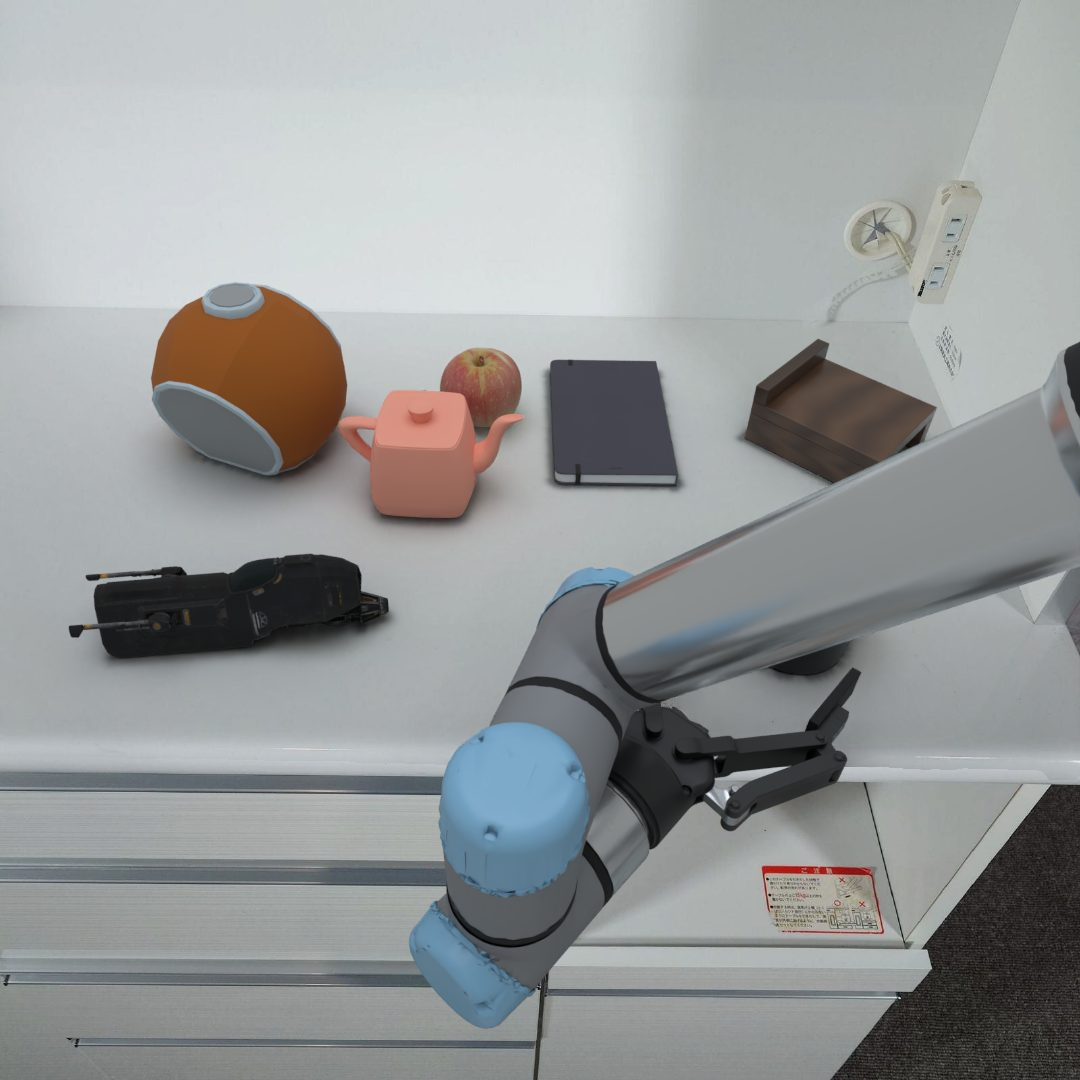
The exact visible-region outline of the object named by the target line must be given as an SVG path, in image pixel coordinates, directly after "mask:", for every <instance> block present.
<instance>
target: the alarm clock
mask: <svg viewBox="0 0 1080 1080" xmlns="http://www.w3.org/2000/svg"><path fill="white" fill-rule="evenodd" d="M150 381H151V389H152V396H151V402H152V405H153V406H154V408H155V411H156V412H157V414H158V416H159V417H160V419H162V421H163V422H164V423H165V424H166V425H167V426H168V427H169V428H170V430H171V431H173V433H174V434H175V435H176V436H177V437H179V438H180V439H181V440H183V441H184V442H185V443H186V444H188V445H189V446H190V447H191V448H192V449H194V450H195V451H197V452H198V453H200V454H201V455H204V456H205V457H206V458H209V459H211V460H214V461H218V462H221V463H224V464H228V465H230V466H234V467H237V468H241V469H244V470H247V471H250V472H254V473H257V474H260V475H263V476H275V475H279V474H281V473H285V472H288V471H291V470H295V469H297V468H298V467H299V466H301V465H303V464H304V463H306V462H307V461H309V460H310V459H312V458H313V457H314V456H315V454H317V452H318V451H319V450H320V449H321V448H322V446H323V445H324V444H325V443H326V442H327V441H328V440H329V438H330V436H331V435H332V433H333V432H334V431H335V429H336V428H337V427H338V424H339V422H340V421H341V417H342V416H343V412H344V410H345V408H346V404H347V393H348V381H347V373H346V366H345V363H344V357H343V350H342V344H341V343H340V341H339V340H338V338H337V337H336V335H335V333H334V332H333V330H332V328H331V326H330V325H328V323H327V322H326V321H324V319H322V317H321V316H319V315H318V314H317V312H315V311H314V309H312V308H311V307H309V306H308V305H307V304H305V303H303V302H302V301H300V300H299V299H297V298H296V297H295V296H292V295H291V294H289V293H287V292H285V291H283V290H280V289H277V288H274V287H272V286H269V285H267V284H256V283H255V284H254V283H249V282H237V281H236V282H235V281H233V282H228V283H227V282H226V283H222V284H219V285H216V286H214V287H211V288H210V289H208V290H207V291H206V293H205V294H204V295H203V296H201V297H199V298H196V299H195V300H193V301H190V302H189V303H186V304H185V305H184V306H182V308H180V309H179V310H178V311H177V312H176V313H175V314H174V315H173V316H172V317H171V318H170V319H169V320H168V322H167V324H166V326H165V327H164V329H163V331H162V333H161V335H160V337H159V338H158V340H157V345H156V350H155V355H154V361H153V366H152V371H151V376H150Z"/></svg>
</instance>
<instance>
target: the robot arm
mask: <svg viewBox="0 0 1080 1080" xmlns="http://www.w3.org/2000/svg"><path fill="white" fill-rule="evenodd" d="M1077 568H1080V341H1078V342H1076V343H1074V344H1072V345H1070V346H1068V347H1066V348H1063V349H1062V350H1060V351H1059V352H1058V354H1057V355H1056V358H1055V360H1054V363H1053V364H1052V367H1051V369H1050V372H1049V374H1048V375H1047V379H1046V381H1045V383H1044V384H1043V385H1042V386H1041V387H1039V388H1037V389H1035V390H1032V391H1030V392H1028V393H1026V394H1023V395H1022V396H1020V397H1018V398H1017V397H1016V398H1015V399H1013V400H1011V401H1009V402H1007V403H1004V404H1002V405H1000V406H997V407H996V408H994V409H992V410H989V411H987V412H984V413H982V414H980V415H978V416H976V417H974V418H972V419H970V420H967V421H965V422H964V423H962V424H958V425H957V426H955V427H952V428H950V429H948V430H946V431H944V432H942V433H940V434H937V435H935V436H933V437H930V438H929V439H926V440H924V442H922V443H920V444H918V445H916V446H914V447H910V448H907V449H904V450H902V451H901V452H898V453H897V454H896V455H894V456H892V457H890V458H888V459H886V460H884V461H881V462H879V463H877V464H875V465H873V466H871V467H868V468H866V469H864V470H862V471H860V472H858V473H856V474H853V475H851V476H849V477H847V478H845V479H843V480H840V481H838V482H836V483H831V484H830V485H828V486H825V487H823V488H821V489H819V490H817V491H815V492H812V493H811V494H807V495H806V496H804V497H802V498H799V499H797V500H796V501H793V502H791V503H789V504H787V505H785V506H782V507H780V508H777V509H776V510H774V511H772V512H769V513H767V514H765V515H763V516H760V517H758V518H757V519H754V520H752V521H750V522H748V523H746V524H743V525H741V526H740V527H737V528H735V529H733V530H730V531H729V532H726V533H724V534H722V535H720V536H717V537H716V538H713V539H711V540H709V541H707V542H705V543H703V544H701V545H697V546H696V547H694V548H692V549H689V550H688V551H686V552H683V553H681V554H679V555H677V556H675V557H673V558H670V559H669V560H666V561H663V562H661V563H660V564H657V565H655V566H653V567H651V568H649V569H647V570H644V571H642V572H640V573H638V574H635V575H634V574H633V573H630V572H628V571H626V570H623V569H619V568H616V567H611V566H608V567H606V568H595V567H593V566H590V567H585V568H582V569H579V570H577V571H575V572H573V573H572V574H571V575H569V576H568V577H566V578H565V580H564V581H563V582H561V584H560V586H559V587H558V589H557V591H556V592H555V594H554V595H553V598H552V599H551V600H550V601H549V602H548V603H547V604H546V606H545V608H544V610H543V612H542V613H541V614H540V616H539V619H538V622H537V625H536V628H535V632H534V634H533V636H532V638H531V640H530V642H529V644H528V646H527V649H526V651H525V653H524V655H523V656H522V659H521V661H520V663H519V665H518V666H517V669H516V671H515V673H514V675H513V677H512V680H511V682H510V683H509V686H508V688H507V689H506V692H505V694H504V696H503V698H502V699H501V701H500V703H499V705H498V707H497V709H496V711H495V713H494V715H493V717H492V719H491V721H490V723H489V725H488V726H487V727H485V728H483V729H481V730H480V731H479V732H478V733H476V734H475V735H473V736H472V737H470V738H468V739H467V740H466V741H465V742H463V743H462V744H461V745H459V746H458V747H457V749H456V750H455V751H454V753H453V754H452V756H451V758H450V759H449V761H448V762H447V765H446V767H445V771H444V774H443V778H442V782H441V795H440V799H439V804H438V812H439V818H438V821H437V824H438V829H439V831H440V833H439V839H440V841H441V846H442V853H443V861H444V870H445V878H446V879H445V881H446V882H445V884H446V885H445V886H446V887H445V888H446V889H445V892H446V893H445V894H444V895H443V896H441V898H440V899H439V900H434V901H432V903H431V904H430V906H429V909H428V910H427V911H426V912H425V914H424V915H423V916H422V917H421V918H420V920H419V921H418V922H417V923H416V924H415V925H414V926H413V928H412V929H411V932H410V933H409V938H408V947H409V951H410V952H409V953H410V955H411V957H412V959H413V961H414V964H415V965H416V967H417V968H418V970H419V972H420V973H421V975H422V976H423V978H424V979H425V980H426V982H427V983H428V984H429V986H430V987H431V988H432V989H433V991H434V992H435V993H436V994H437V995H438V996H439V997H440V998H441V999H442V1000H443V1002H444V1003H446V1005H447V1006H448V1007H449V1008H451V1009H452V1011H453V1012H455V1013H456V1014H457V1015H458V1016H459V1017H460V1018H462V1019H463V1020H464V1021H466V1022H468V1023H469V1024H470V1025H472V1026H474V1027H477V1028H479V1029H484V1030H488V1029H494V1028H496V1027H498V1026H500V1025H501V1024H503V1022H504V1021H505V1020H506V1019H507V1018H508V1017H509V1016H510V1015H511V1014H512V1013H513V1012H514V1011H515V1010H516V1009H517V1008H518V1007H519V1006H520V1005H521V1004H522V1003H523V1002H524V1001H525V1000H527V998H530V997H532V996H533V995H534V994H535V993H536V992H537V991H536V990H537V989H536V987H538V985H539V984H540V983H541V982H542V980H544V978H545V977H546V975H547V974H548V973H549V972H550V971H551V970H552V969H553V967H554V966H555V965H556V964H557V963H558V961H559V960H560V959H561V958H562V957H563V956H564V954H565V953H566V952H567V951H568V950H569V949H570V947H572V945H573V944H574V943H575V941H576V940H577V939H578V938H579V936H581V934H582V933H583V932H584V931H585V930H586V929H587V927H588V926H589V925H590V924H591V922H592V921H593V920H594V919H595V918H596V917H597V915H598V914H599V913H600V912H601V911H602V910H603V908H605V906H606V905H607V904H608V903H609V901H610V900H611V899H612V898H613V896H614V895H616V894H617V892H618V891H619V890H620V889H621V888H622V886H623V885H624V884H625V883H626V882H627V881H628V880H629V879H630V878H631V876H632V875H633V874H634V873H635V872H636V871H637V870H638V869H639V867H640V866H641V865H642V864H643V863H644V862H645V860H647V858H648V856H649V854H650V851H651V850H653V849H656V848H657V847H658V846H659V845H660V843H661V842H662V841H663V840H664V839H665V838H666V836H667V835H669V834H670V832H671V831H672V830H673V828H674V827H675V826H676V825H677V824H678V823H679V822H680V820H681V819H682V818H683V817H684V816H685V814H687V812H688V811H689V810H690V809H691V808H693V806H696V805H698V804H700V803H703V802H704V803H705V804H706V805H707V806H708V807H710V809H712V810H713V811H714V812H715V813H716V814H717V815H718V816H720V820H719V821H720V822H719V824H720V826H721V828H722V829H723V830H724V831H727V832H734V831H736V830H737V829H738V828H740V826H742V824H744V823H745V822H746V821H747V820H748V819H749V818H750V817H751V816H752V815H754V814H757V813H760V812H762V811H765V810H768V809H770V808H771V809H772V808H773V807H776V806H779V805H782V804H784V803H787V802H789V801H793V800H795V799H798V798H800V797H802V796H803V797H804V796H805V795H808V794H811V793H813V792H816V791H819V790H821V789H824V788H827V787H829V786H833V785H835V784H836V783H838V781H839V779H840V778H841V775H842V773H843V771H844V769H845V767H846V764H847V762H848V756H847V755H846V754H845V753H844V752H843V751H841V750H837V749H836V748H835V747H834V745H833V743H834V742H835V741H836V739H837V737H838V736H839V735H840V734H841V733H842V732H843V730H844V729H845V727H846V724H847V722H848V720H849V718H850V717H849V716H850V711H849V710H847V709H846V708H844V707H843V706H844V705H845V704H846V703H847V701H848V700H849V699H850V697H851V696H852V695H853V693H854V690H855V688H856V686H857V683H858V682H859V679H860V677H861V674H862V672H861V671H860V670H858V669H857V668H855V667H853V666H852V667H851V668H850V669H849V670H848V672H847V673H846V674H845V676H843V678H842V679H841V680H840V681H839V683H838V684H837V685H836V686H835V687H834V689H833V690H832V691H831V692H830V693H829V695H828V696H827V697H826V698H825V700H824V701H823V702H822V704H820V705H819V707H818V708H817V709H816V711H814V713H813V714H812V716H811V717H810V718H809V720H808V721H807V724H806V726H805V729H804V731H796V732H795V731H794V732H785V733H777V734H767V735H757V736H749V737H739V738H734V737H733V736H732V735H721V736H712V737H711V736H710V734H709V732H710V731H709V729H707V728H706V727H704V725H702V724H701V723H698V722H696V721H693V720H690V719H689V717H687V716H686V714H685V713H684V712H683V711H681V710H680V709H679V708H677V707H676V706H672V707H668V706H662V702H665V701H668V700H670V699H673V698H676V697H679V696H683V695H686V694H689V693H692V692H694V691H697V690H701V689H704V688H707V687H710V686H713V685H717V684H719V683H722V682H726V681H729V680H732V679H735V678H738V677H742V676H744V675H747V674H751V673H754V672H758V671H760V670H763V669H767V668H769V667H770V666H773V665H776V664H779V663H782V662H785V661H788V660H791V659H794V658H797V657H800V656H804V655H807V654H810V653H813V652H816V651H819V650H822V649H825V648H828V647H832V646H835V645H838V644H841V643H844V642H847V641H848V642H850V641H853V640H856V639H859V638H863V637H865V636H868V635H872V634H875V633H879V632H881V631H884V630H887V629H890V628H893V627H897V626H900V625H903V624H905V623H909V622H912V621H915V620H917V619H921V618H924V617H927V616H931V615H933V614H934V615H935V614H937V613H940V612H943V611H947V610H949V609H952V608H956V607H958V606H961V605H965V604H968V603H971V602H974V601H977V600H981V599H984V598H986V597H991V596H993V595H997V594H998V593H1002V592H1006V591H1008V590H1011V589H1014V588H1017V587H1020V586H1024V585H1027V584H1030V583H1033V582H1036V581H1040V580H1043V579H1045V578H1048V577H1052V576H1056V575H1058V574H1061V573H1064V572H1067V571H1071V570H1074V569H1077ZM715 757H716V758H715ZM783 767H784V768H783ZM776 768H782V769H779V770H777V771H773V772H772V773H768V774H766V775H763V776H760V777H758V778H754V779H752V780H750V781H748V782H746V783H744V784H743V785H742V786H739V785H737V784H732V785H730V786H728V787H725V788H721V787H717V786H716V779H719V778H726V777H728V776H730V775H732V774H734V773H739V772H748V771H758V770H766V769H776Z"/></svg>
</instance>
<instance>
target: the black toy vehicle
mask: <svg viewBox="0 0 1080 1080" xmlns="http://www.w3.org/2000/svg"><path fill="white" fill-rule="evenodd" d="M360 569H361V568H360V566H359V565H358V564H356V563H354V562H352V561H350V560H348V559H345V558H343V557H339V556H332V555H327V554H322V553H321V554H313V553H302V554H301V553H300V554H289V555H288V554H287V555H284V556H282V557H278V556H277V557H267V558H260V559H255V560H251V561H248V562H246V563H244V564H242V565H241V566H240V567H238V568H236V570H234V571H232V572H229V573H227V572H224V571H222V572H210V573H196V574H187V572H186V571H185V569H184V568H183V567H182V566H176V565H174V566H162V567H161V568H156V569H154V568H152V569H150V570H132V571H122V572H121V571H119V572H106V573H92V574H91V573H90V574H85V579H86V581H88V582H95V581H98V582H99V580H102V579H114V578H115V579H116V578H127V577H131V578H137V577H140V578H141V577H151V576H152V577H153V578H142V579H129V580H117V581H108V582H105V583H99V584H96V586H95V587H94V591H93V608H94V611H95V616H96V621H97V623H91V624H71V625H68V633H69V636H70V638H75V639H76V638H77V639H79V638H80V636H81V635H82V633H83V631H90V630H99V635H100V640H101V643H102V646H103V647H104V649H105V652H106V653H107V654H109V655H110V656H112V657H114V658H116V659H121V658H122V659H123V658H133V657H144V656H145V657H147V656H153V655H154V656H156V655H168V654H177V653H178V654H179V653H191V652H202V651H212V650H214V651H215V650H224V649H225V650H226V649H235V648H250V647H253V644H254V642H255V641H257V640H260V639H262V638H266V637H269V636H270V635H271V634H272V633H273V631H275V630H278V629H280V628H283V627H285V626H286V628H287V629H292V628H304V627H307V626H311V625H321V626H322V625H323V626H330V627H331V626H340V625H348V624H351V623H357V622H361V624H362V625H366V624H368V623H370V622H372V621H374V620H377V619H378V618H381V617H383V616H384V615H387V614H388V613H389V610H390V607H389V606H390V605H389V598H387V597H383V596H381V595H378V594H375V593H370V592H366V591H364V590H362V580H363V579H362V577H363V575H362V572H361V570H360ZM156 576H159V577H156Z"/></svg>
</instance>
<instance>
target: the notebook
mask: <svg viewBox="0 0 1080 1080" xmlns="http://www.w3.org/2000/svg"><path fill="white" fill-rule="evenodd" d="M657 363H658V362H657V360H620V359H619V360H618V359H617V360H613V359H610V360H609V359H608V360H607V359H553V360H551V361H550V364H549V370H550V372H549V390H550V410H551V411H550V413H551V435H552V437H551V438H552V439H551V440H552V464H553V465H552V466H553V479H554V482H555V483H556V484H559V485H563V486H565V485H567V486H570V485H572V486H651V487H652V486H654V487H655V486H658V487H660V486H661V487H677V484H678V478H679V471H678V467H677V462H676V456H675V452H674V445H673V441H672V436H671V432H670V431H671V430H670V425H669V421H668V420H669V419H668V415H667V410H666V404H665V399H664V395H663V390H662V383H661V379H660V374H659V369H658V364H657Z"/></svg>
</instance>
